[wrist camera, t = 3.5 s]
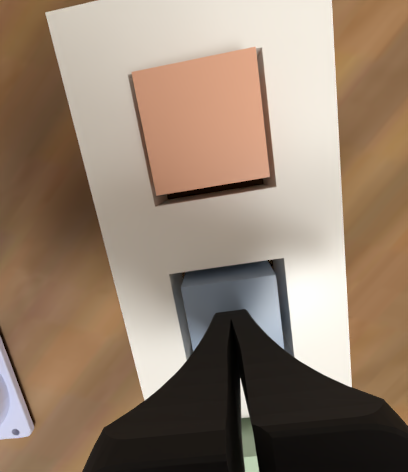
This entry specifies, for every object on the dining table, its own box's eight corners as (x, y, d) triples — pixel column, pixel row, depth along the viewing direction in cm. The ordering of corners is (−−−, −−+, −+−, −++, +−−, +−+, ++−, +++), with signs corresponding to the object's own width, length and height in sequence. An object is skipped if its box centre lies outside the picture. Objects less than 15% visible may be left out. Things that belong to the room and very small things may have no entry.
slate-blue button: (200, 331, 15) (196, 368, 12) (188, 264, 14) (180, 288, 11) (271, 322, 15) (285, 358, 12) (263, 253, 14) (275, 274, 11)
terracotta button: (170, 190, 12) (156, 195, 10) (152, 97, 12) (131, 72, 9) (256, 175, 12) (270, 177, 9) (245, 79, 11) (255, 46, 8)
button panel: (184, 475, 18) (178, 532, 15) (84, 49, 13) (45, 12, 10) (334, 463, 17) (358, 520, 15) (300, 3, 12) (329, -53, 9)
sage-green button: (222, 460, 16) (223, 524, 13) (211, 404, 15) (210, 459, 12) (290, 454, 16) (307, 518, 13) (283, 397, 15) (300, 452, 12)
